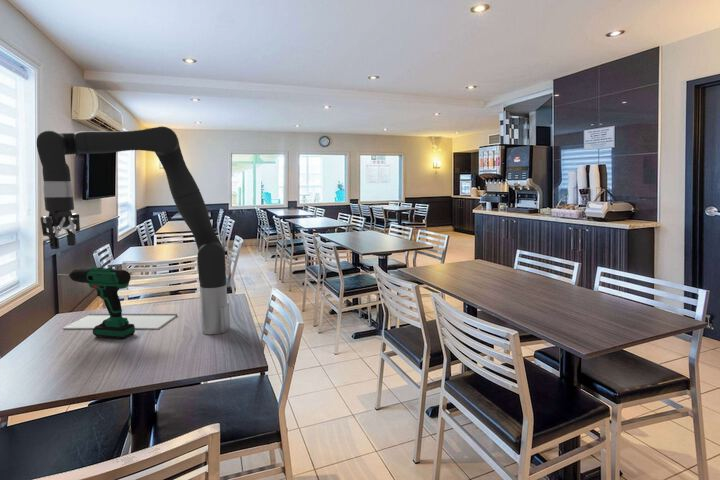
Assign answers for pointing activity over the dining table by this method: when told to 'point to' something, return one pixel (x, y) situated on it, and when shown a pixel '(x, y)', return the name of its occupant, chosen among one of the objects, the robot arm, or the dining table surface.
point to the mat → (137, 319)
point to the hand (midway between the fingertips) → (63, 247)
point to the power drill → (107, 298)
